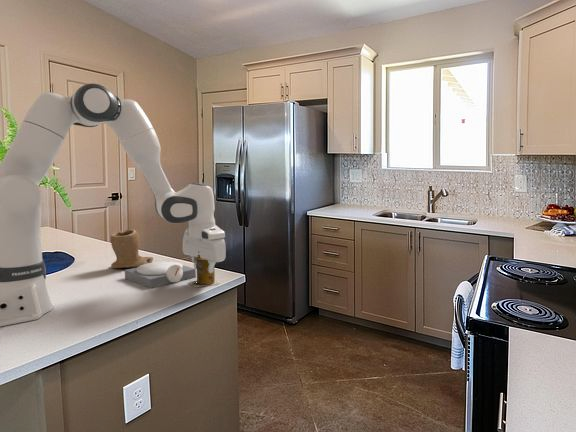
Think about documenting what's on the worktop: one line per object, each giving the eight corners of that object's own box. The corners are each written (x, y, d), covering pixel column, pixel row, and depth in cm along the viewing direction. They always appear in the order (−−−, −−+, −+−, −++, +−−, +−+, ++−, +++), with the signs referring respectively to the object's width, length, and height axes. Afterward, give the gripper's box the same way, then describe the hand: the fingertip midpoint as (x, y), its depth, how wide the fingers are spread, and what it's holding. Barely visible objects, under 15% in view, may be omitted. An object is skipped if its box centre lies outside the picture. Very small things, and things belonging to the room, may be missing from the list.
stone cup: (107, 271, 167) (104, 233, 165) (115, 264, 179) (113, 228, 177) (148, 270, 169) (146, 232, 167) (153, 263, 181) (152, 227, 179)
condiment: (219, 283, 151) (218, 249, 149) (195, 288, 146) (194, 252, 144) (210, 279, 157) (209, 246, 155) (187, 283, 152) (186, 249, 150)
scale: (152, 288, 145) (151, 270, 145) (125, 278, 158) (124, 261, 158) (197, 277, 158) (197, 260, 158) (168, 268, 172) (168, 253, 171)
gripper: (177, 228, 153) (178, 267, 155) (212, 235, 139) (214, 277, 141) (192, 226, 158) (193, 264, 160) (228, 232, 144) (229, 273, 146)
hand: (203, 270), depth 150 cm, fingers closed on condiment, 6 cm apart
